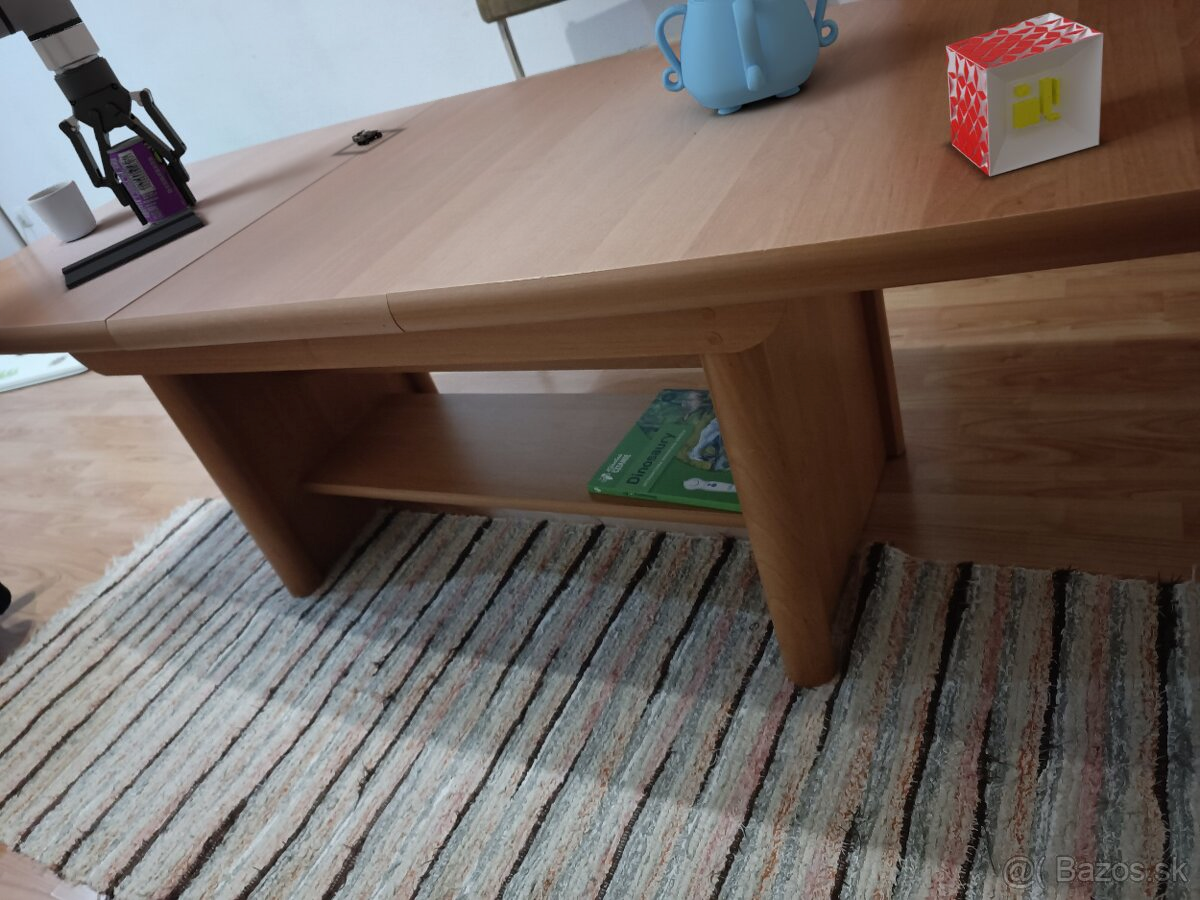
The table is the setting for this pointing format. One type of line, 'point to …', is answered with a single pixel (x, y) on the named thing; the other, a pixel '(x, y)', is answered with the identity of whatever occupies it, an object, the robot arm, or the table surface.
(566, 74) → the table surface
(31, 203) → the cup
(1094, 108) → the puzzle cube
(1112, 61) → the table surface
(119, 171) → the beverage can
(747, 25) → the decorative pot
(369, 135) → the toy car
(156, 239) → the slotted black track
